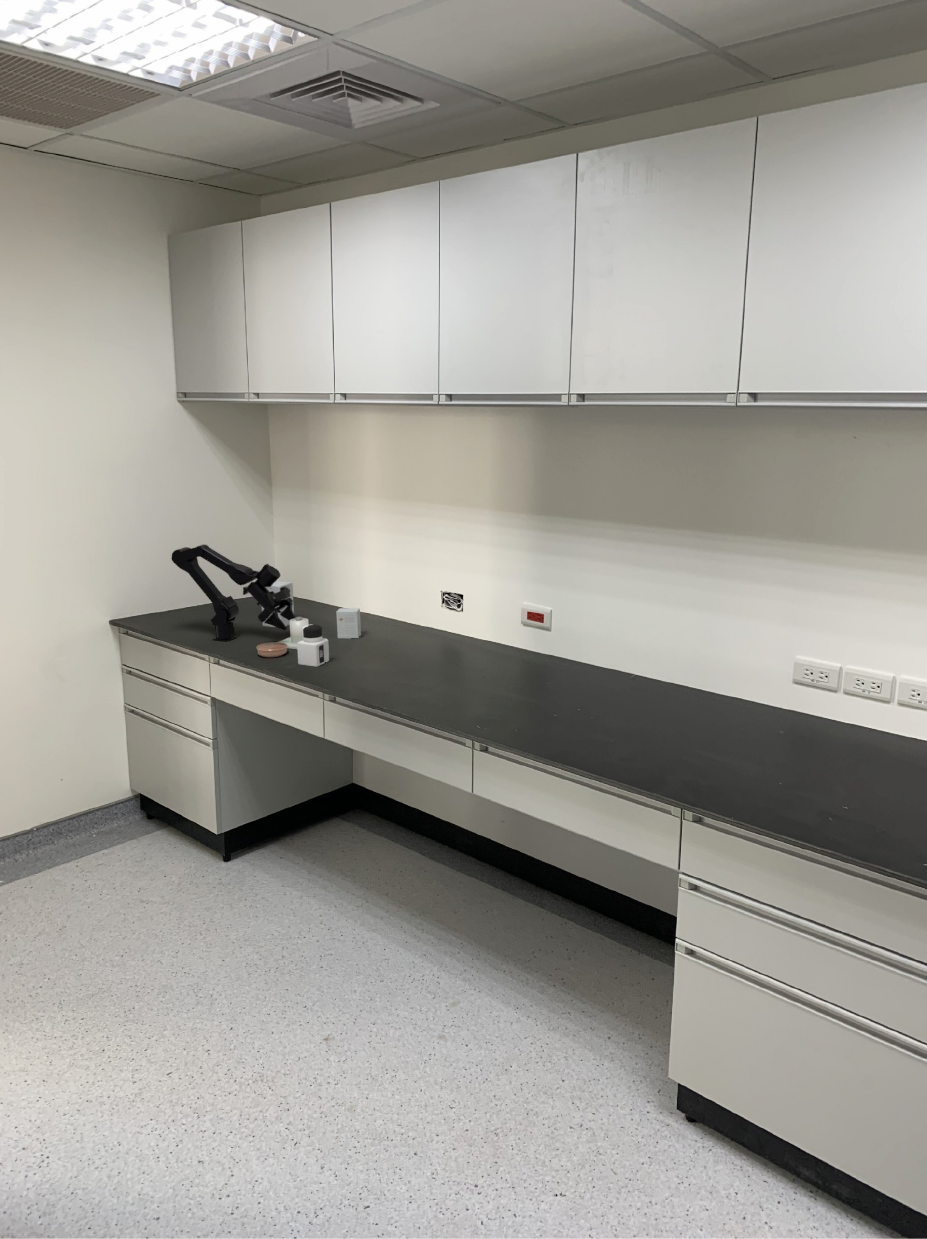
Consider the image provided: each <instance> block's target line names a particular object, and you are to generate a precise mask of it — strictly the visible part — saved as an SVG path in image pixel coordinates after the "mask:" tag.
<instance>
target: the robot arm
mask: <svg viewBox="0 0 927 1239" xmlns="http://www.w3.org/2000/svg"><path fill="white" fill-rule="evenodd" d="M199 557H200V558H201V559H204V560H205V561H206V562H208V563H210V564H211V565H214V567H216V568H218V569H220V570H221V571H223V572H224V573H226V574H227V575H228V577H229V578H230V579H231V580H232V581H233V582H234V583H236V584H237V585H238V586H244V585H245V586H244V587H242V589H243V590H242V595H243V596H244V595H245V596H246V595H248V594H250V595H251V597H252V598H253V599H254V600H255V601H256V605H257V606H258V607H260V606H261V608H262V607H263V608H264V610H263V611H262V610H261V612H260V613H259V614H258V615H257V619H258V621H259V622H260V623H261V624H263V622H264V621H265V622H264V623H267V624H270V625H272V626H275V627H274V628H277V629H280V630H282V631H286V630H287V629H288V628H287V626H285V625H284V623H283V622H282V621H281V619H280V618H279V617H278V613H281V614H280V615H281V616H283V617H284V618H286V619H287V620H291V619H294V618H295V617H296V616H295V612H294V613H293V611H292V605H293V604H294V599H293V600H292V599H291V598H287V597H289V596H291V595H290V590H289V589H288V588H287V587H286V586H284V587H282V588H280V591H279V592H277V593H274V592H273V591H271V592H270V591H269V590H268V589H267V588H266V587H271V586H272V585H273V584H274V583H275V582H276V581H278V579H279V578H280V577H281V572H280V571H279V570H278V569H277V568H275V567H274V566H271V565H270V564H269V563H266V564H264V565H263V566H262V568H261V569H260V570H259V571H258V570H254V569H253V568H252V567H249V566H247V565H244V564H241V563H236V562H235V561H234V562H233V561H232V560H230V559H229V558H227V557H226V556H224V555H222V554H221V553H219V552H218V551H216V550H214V549H213V548H211V547H209V545H208V544H200V545H198V546H195V547H192V548H191V547H187V546H186V547H185V546H184V547H181V548H179V549H175V550H174V551H173V552H172V554H171V558H170V559H171V561H172V563H173V564H175V566H177V567H178V568H179V569H180V570H182V571H184V572H185V573H187V574H188V575H189V576H190V577H191V578H192V580H193V581H194V582H195V584H196V585H197V586H198V587H199V588H200V590H201V591H202V592H203V593H204V594H205V596H206V597H207V598H208V600H209V601H210V602H211V604H212V608H213V611H214V613H215V615H214V616H213V617H212V618H211V619H210V622H211V624H212V626H214V632H215V635H214V636H215V637H213V638H212V640H214V641H219V642H220V641H222V642H228V641H231V640H233V639H234V640H235V639H237V638H238V636H237V635H236V632H235V626H234V621H235V620H236V617H237V616H238V615H239V612H240V609H239V606H238V603H237V602H236V601H235V600H234V598H233V596H232V595H229V596H226V595H224V594H223V593H222V592H221V591H220V590H219V588H218V587H217V586H216V585H215V584H214V582H213V581H212V580H211V578H209V575H207V574H206V572H205V571H204V570H203V568H202V567H201V566H200V564H199V560H198V558H199ZM247 584H248V585H247ZM246 585H247V586H246ZM282 599H283V600H282ZM292 602H293V603H292Z"/></svg>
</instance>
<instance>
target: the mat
mask: <svg viewBox="0 0 927 1239" xmlns="http://www.w3.org/2000/svg"><path fill="white" fill-rule="evenodd" d="M322 639H327V638H324V637H322ZM278 642H280V643H285V644H287V649H291V650H292V649H293V650H297V644H295V643H291V639H290V636H289V637H287V638H285V639H282V640H279V641H278Z"/></svg>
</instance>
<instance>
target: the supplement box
mask: <svg viewBox="0 0 927 1239" xmlns="http://www.w3.org/2000/svg"><path fill="white" fill-rule="evenodd" d="M293 584H294V583H293V582H292V581H290V582H289V581H282V580H280V581H278V580H276V582H275V583H274V584H273V585H272V586H271V587H266V588H267V589H268V590H269V591H270V592H271V591H273V592H274V593H277V592H279V591H280V588H282V587H284V586H286V587H287V588H288V589H289V590H290V595H291V596H289V597H287V598H291V599H292V600H293V602H292V603H293V605H292V611H293V613H294V614H295V610H294V608H295V607H294V588H293V587H294V586H293ZM282 600H283V599H282ZM263 610H264V608H263V607H262V606H261V612H262V611H263ZM280 614H281V613H278V617H279V618H280V619H281V621H282V622H283V623H284V625H285V626H286V627H287V626H290V621H289V620H287V619H286V618H284V617H283V616H281V615H280ZM264 622H265V621H264ZM264 622H262V626H263V627H269V628H270V627H271V628H276V627H275V626H272V625H270V624H267V623H264Z"/></svg>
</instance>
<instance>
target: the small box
mask: <svg viewBox="0 0 927 1239" xmlns="http://www.w3.org/2000/svg"><path fill="white" fill-rule="evenodd" d="M335 613H336V629H337V632H336V633H337V639H351V638H358V639H359V638H360V637H361V635H362V626H361V625H362V624H361V622H362V621H361V609H360V607H359V608H355V607H354V608H352V607H351V608H350V607H345V608H344V607H340V608H338V610H336V612H335ZM359 636H360V637H359Z"/></svg>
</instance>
